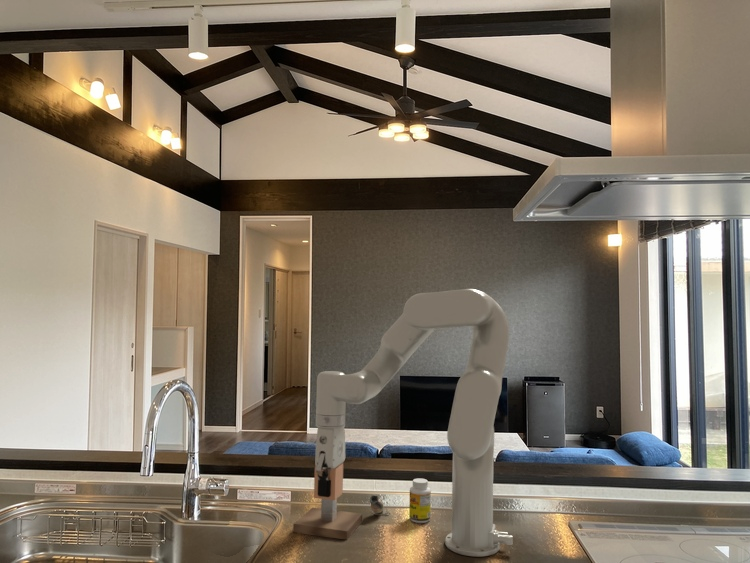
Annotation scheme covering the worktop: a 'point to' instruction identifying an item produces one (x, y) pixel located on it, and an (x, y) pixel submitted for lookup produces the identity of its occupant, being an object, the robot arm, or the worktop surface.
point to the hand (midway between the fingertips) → (328, 491)
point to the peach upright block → (336, 483)
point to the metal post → (328, 509)
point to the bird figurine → (377, 506)
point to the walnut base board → (328, 524)
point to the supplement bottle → (420, 501)
